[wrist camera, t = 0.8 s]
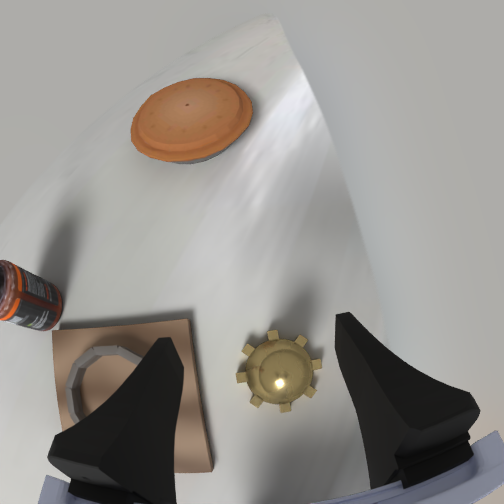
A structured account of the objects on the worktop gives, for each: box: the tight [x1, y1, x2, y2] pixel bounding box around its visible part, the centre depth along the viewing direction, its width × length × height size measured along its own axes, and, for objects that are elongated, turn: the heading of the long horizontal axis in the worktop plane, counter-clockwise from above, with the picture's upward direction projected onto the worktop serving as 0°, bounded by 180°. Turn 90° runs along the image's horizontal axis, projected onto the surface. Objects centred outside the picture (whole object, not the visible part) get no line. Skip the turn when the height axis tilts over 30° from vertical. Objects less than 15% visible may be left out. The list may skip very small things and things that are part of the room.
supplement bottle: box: [0, 260, 62, 331], centre depth 23 cm, size 6×6×11 cm
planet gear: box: [236, 330, 322, 413], centre depth 23 cm, size 8×8×7 cm
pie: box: [131, 78, 253, 164], centre depth 34 cm, size 15×16×5 cm
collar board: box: [52, 319, 214, 473], centre depth 23 cm, size 15×16×3 cm
